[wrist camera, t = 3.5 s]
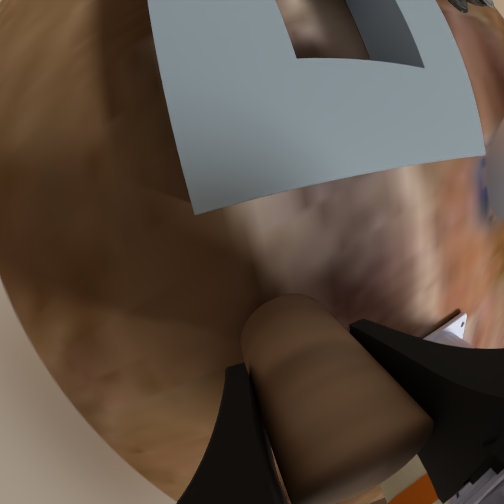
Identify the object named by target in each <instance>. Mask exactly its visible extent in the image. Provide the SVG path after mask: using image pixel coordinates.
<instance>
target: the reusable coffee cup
mask: <svg viewBox="0 0 504 504" xmlns="http://www.w3.org/2000/svg"><path fill="white" fill-rule="evenodd" d="M380 487H381V489H382V491H383V494H384V496H385V498H386V501H387V503H388V504H443V503H442V502H441V501H440V500H439V498H438V497H437V494H436V492H435V489H434V487H433V485H432V483H431V480H430V478H429V476H428V474H427V472H426V470H425V468H424V466H423V464H422V462H421V460H420V459H419V457H418V456H417V455H415V456H414V457H413V458H412V459H411V460H410V461H409V462H408V463H407V464H406V465H405V466H404V467H403V468H401V469H400V470H399V471H398V472H396V473H395V474H394V475H392V476H391V477H389V478H388V479H387V480H385V481H383V482H382V483H380ZM444 504H448V501H447V502H445V503H444Z"/></svg>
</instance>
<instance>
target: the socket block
mask: <svg viewBox="0 0 504 504" xmlns="http://www.w3.org/2000/svg"><path fill="white" fill-rule="evenodd" d="M345 1H346V3H347V5H348V7H349V10H350V12H351V14H352V16H353V18H354V20H355V23H356V25H357V27H358V30H359V32H360V35H361V37H362V40H363V42H364V45H365V47H366V50H367V53H368V55H369V58H370V60H360V59H342V58H299V59H297V58H296V55H295V52H294V49H293V46H292V43H291V41H290V38H289V35H288V32H287V29H286V27H285V24H284V21H283V19H282V16H281V14H280V11H279V8H278V6H277V4H276V1H275V0H148V7H149V14H150V20H151V26H152V32H153V38H154V43H155V49H156V54H157V59H158V64H159V69H160V74H161V79H162V84H163V89H164V94H165V98H166V103H167V107H168V112H169V116H170V121H171V125H172V129H173V133H174V138H175V142H176V146H177V150H178V154H179V158H180V162H181V166H182V170H183V174H184V177H185V181H186V185H187V189H188V193H189V196H190V200H191V204H192V207H193V211H194V214H195V215H198V214H201V213H205V212H208V211H212V210H215V209H219V208H222V207H226V206H230V205H233V204H237V203H241V202H245V201H248V200H252V199H256V198H260V197H264V196H268V195H272V194H276V193H280V192H284V191H288V190H292V189H297V188H301V187H305V186H310V185H314V184H318V183H323V182H328V181H332V180H337V179H342V178H346V177H351V176H356V175H361V174H366V173H371V172H377V171H382V170H387V169H393V168H399V167H404V166H410V165H416V164H423V163H429V162H436V161H442V160H449V159H457V158H464V157H473V156H481V155H486V153H485V146H484V139H483V134H482V128H481V123H480V118H479V114H478V109H477V105H476V101H475V97H474V94H473V90H472V87H471V83H470V80H469V77H468V74H467V71H466V68H465V65H464V62H463V59H462V57H461V54H460V51H459V49H458V46H457V44H456V41H455V39H454V37H453V34H452V32H451V30H450V28H449V26H448V24H447V21H446V19H445V17H444V15H443V13H442V11H441V10H440V8H439V6H438V4H437V2H436V0H345Z"/></svg>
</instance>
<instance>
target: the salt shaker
mask: <svg viewBox="0 0 504 504" xmlns="http://www.w3.org/2000/svg"><path fill="white" fill-rule="evenodd" d="M448 1H449V2H450V3H451V4H452V5H453V6H455V7H456V8H457V9H458V10H460V11H461V12H463V13H467V12H468V5H467V2H469V3H471V4H473V5H476V6H483V7H484V6H489V7H491V8H493V7H494V4H493V1H492V0H448Z"/></svg>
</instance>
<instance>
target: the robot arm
mask: <svg viewBox="0 0 504 504" xmlns="http://www.w3.org/2000/svg"><path fill="white" fill-rule="evenodd" d="M466 318H467V314H466V313H464V312H461V313H460V314H459V315H457V316H456V317H454V318H453V319H452V320H450V321H449V322H447V323H446V324H445V325H443V326H442V327H440V328H439V329H437V330H436V331H434V332H433V333H431V334H429V335H428V336H426V337H425V338H423V339H421V338H418V337H414V336H411V335H408V334H405V333H402V332H399V331H396V330H393V329H391V328H388V327H385V326H382V325H380V324H377V323H374V322H371V321H369V320H365V319H362V320H359V321H357V322H355V323H352V324H350V334H351V335H352V336H353V337H354V338H355V339H356V340H357V341H358V342H359V343H360V344H361V345H362V346H363V347H364V348H365V349H366V350H367V351H368V352H369V353H370V354H371V355H372V356H373V357H374V358H375V360H376V361H377V362H378V363H379V364H380V365H381V366H382V367H383V368H384V369H385V370H386V371H387V372H388V373H389V374H390V375H391V376H392V377H393V378H394V379H395V380H396V381H397V382H398V383H399V384H400V386H401V387H402V388H403V389H404V390H405V391H406V392H407V393H408V394H409V395H410V396H411V397H412V398H413V399H414V400H415V401H416V402H417V403H418V404H419V406H420V407H421V408H422V409H423V410H424V411H425V412H426V413H427V414H428V415H429V416H430V417H431V418H432V419H433V421H434V428H433V431H432V434H431V436H430V437H429V439H428V441H427V442H426V444H425V445H424V446H423V447H422V449H421V450H420V451H419V452H418V453H417V454H416V455H417V456H418V457H419V459H420V460H421V462H422V464H423V466H424V468H425V470H426V472H427V474H428V476H429V478H430V480H431V483H432V485H433V487H434V489H435V492H436V494H437V497H438V498H439V500H440V501H441V502H442V503H443V504H444V503H445V502H447V501H448V504H504V348H502V349H478V348H474V347H473V346H471V345H470V344H469V343H467V342H466V341H464V340H463V339H462V337H463V332H464V328H465V323H466ZM176 504H288V503H287V500H286V497H285V495H284V492H283V489H282V487H281V484H280V481H279V478H278V475H277V471H276V467H275V463H274V459H273V454H272V450H271V446H270V442H269V439H268V436H267V433H266V429H265V426H264V423H263V420H262V417H261V414H260V411H259V408H258V404H257V401H256V397H255V393H254V390H253V387H252V384H251V380H250V377H249V374H248V371H247V368H246V366H245V363H241V364H237V365H234V366H230V367H227V369H226V370H225V384H224V390H223V396H222V400H221V405H220V409H219V413H218V417H217V420H216V423H215V427H214V430H213V433H212V436H211V439H210V442H209V444H208V447H207V449H206V452H205V454H204V456H203V459H202V461H201V463H200V465H199V467H198V469H197V471H196V473H195V475H194V477H193V478H192V480H191V482H190V484H189V485H188V487H187V488H186V490H185V492H184V493H183V495H182V496H181V497H180V499H179V500H178V502H177V503H176Z"/></svg>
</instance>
